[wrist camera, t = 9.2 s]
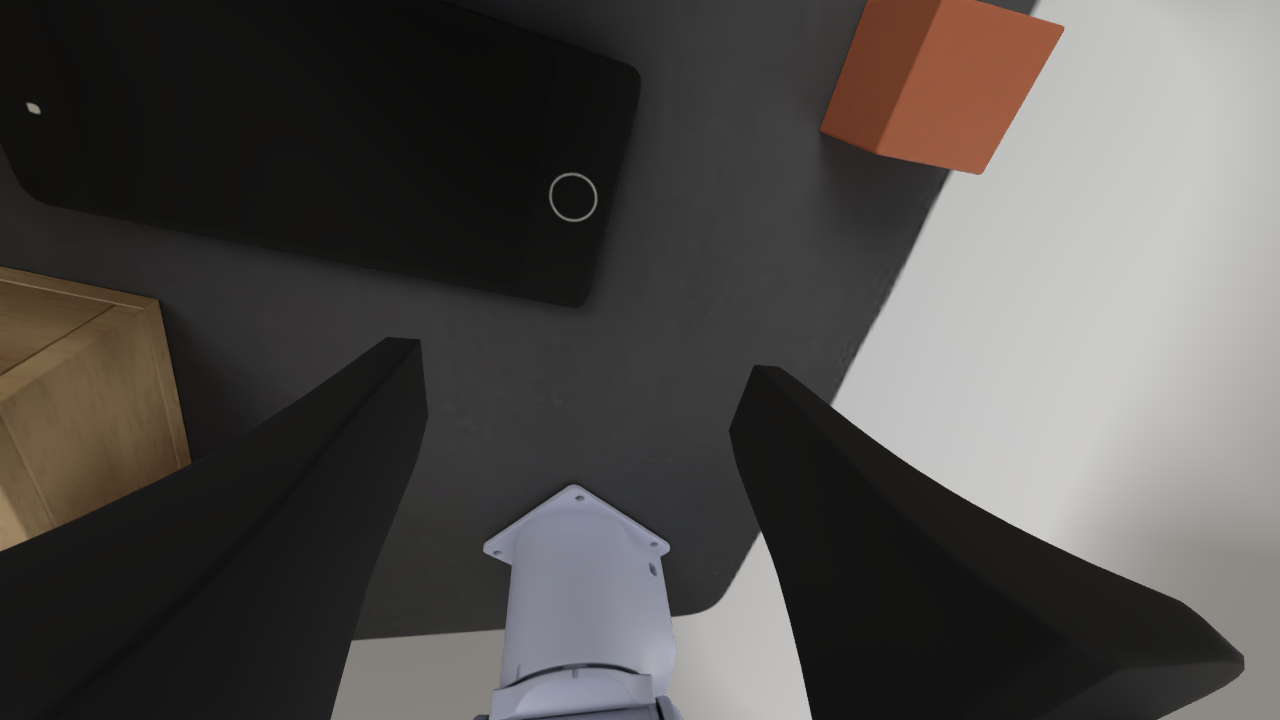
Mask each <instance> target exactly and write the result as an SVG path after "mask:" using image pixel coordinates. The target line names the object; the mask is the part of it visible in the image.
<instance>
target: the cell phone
mask: <svg viewBox="0 0 1280 720" xmlns="http://www.w3.org/2000/svg"><path fill="white" fill-rule="evenodd" d="M640 89H641V79H640V75H639V73H638V71H637V70H636V69H635V68H634V67H632V66H630V65H628V64H625V63H622V62H619V61H616V60H613V59H611V58H608V57H605V56H602V55H599V54H596V53H593V52H590V51H587V50H585V49H582V48H579V47H576V46H573V45H570V44H567V43H564V42H561V41H559V40H556V39H553V38H550V37H547V36H544V35H541V34H538V33H535V32H533V31H530V30H527V29H524V28H521V27H518V26H515V25H512V24H509V23H507V22H504V21H501V20H498V19H495V18H492V17H489V16H486V15H483V14H481V13H478V12H475V11H472V10H469V9H466V8H463V7H460V6H457V5H455V4H452V3H449V2H446V1H443V0H0V142H1V144H2V146H3V149H4V151H5V154H6V156H7V158H8V161H9V163H10V165H11V168H12V170H13V173H14V174H15V176H16V178H17V180H18V182H19V183H20V185H21V186H22V187H23V189H24V190H25V191H26V192H27V193H28V194H29V195H30V196H31V197H32V198H34V199H36V200H37V201H40V202H42V203H45V204H47V205H51V206H56V207H61V208H66V209H71V210H76V211H80V212H85V213H90V214H95V215H100V216H105V217H110V218H115V219H121V220H126V221H131V222H136V223H141V224H146V225H151V226H156V227H161V228H167V229H172V230H177V231H182V232H187V233H192V234H197V235H202V236H207V237H213V238H218V239H223V240H228V241H233V242H238V243H243V244H248V245H254V246H259V247H264V248H269V249H274V250H279V251H284V252H289V253H294V254H300V255H305V256H310V257H315V258H320V259H325V260H330V261H335V262H341V263H346V264H351V265H356V266H361V267H366V268H371V269H376V270H381V271H387V272H392V273H397V274H402V275H407V276H412V277H417V278H422V279H428V280H433V281H438V282H443V283H448V284H453V285H458V286H463V287H468V288H474V289H479V290H484V291H489V292H494V293H499V294H504V295H509V296H515V297H520V298H525V299H530V300H535V301H540V302H545V303H550V304H555V305H561V306H566V307H573V308H576V307H580V306H582V305H583V304H584V302H585V301H586V299H587V296H588V294H589V291H590V287H591V283H592V280H593V276H594V272H595V268H596V264H597V260H598V256H599V252H600V249H601V245H602V241H603V237H604V233H605V229H606V225H607V221H608V218H609V214H610V210H611V206H612V202H613V198H614V194H615V190H616V187H617V183H618V179H619V175H620V171H621V167H622V163H623V159H624V156H625V152H626V148H627V144H628V140H629V136H630V132H631V128H632V125H633V121H634V117H635V113H636V109H637V105H638V101H639V95H640Z"/></svg>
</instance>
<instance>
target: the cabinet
mask: <svg viewBox="0 0 1280 720" xmlns="http://www.w3.org/2000/svg"><path fill="white" fill-rule="evenodd" d="M191 463H192V462H191V457H190V452H189V447H188V442H187V437H186V432H185V427H184V422H183V417H182V413H181V408H180V403H179V398H178V393H177V388H176V383H175V378H174V373H173V368H172V363H171V358H170V353H169V349H168V344H167V339H166V334H165V329H164V324H163V319H162V314H161V309H160V304H159V300H158V299H154V298H149V297H145V296H140V295H135V294H130V293H126V292H121V291H116V290H111V289H107V288H102V287H97V286H92V285H87V284H83V283H78V282H73V281H68V280H64V279H59V278H54V277H49V276H45V275H40V274H35V273H30V272H26V271H21V270H16V269H11V268H6V267H2V266H0V551H2V550H5V549H7V548H10V547H12V546H14V545H17V544H19V543H21V542H24V541H26V540H29V539H31V538H33V537H36V536H38V535H40V534H43V533H45V532H47V531H50V530H52V529H54V528H57V527H59V526H61V525H64V524H66V523H68V522H70V521H73V520H75V519H77V518H79V517H81V516H83V515H86V514H88V513H90V512H92V511H94V510H96V509H98V508H100V507H102V506H105V505H107V504H109V503H111V502H113V501H115V500H117V499H119V498H122V497H124V496H126V495H128V494H130V493H132V492H134V491H136V490H139V489H141V488H143V487H145V486H147V485H149V484H151V483H153V482H156V481H158V480H160V479H162V478H164V477H166V476H168V475H170V474H172V473H174V472H176V471H178V470H179V469H181V468H183V467H185V466H187V465H189V464H191Z"/></svg>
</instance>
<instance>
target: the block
mask: <svg viewBox="0 0 1280 720" xmlns="http://www.w3.org/2000/svg"><path fill="white" fill-rule="evenodd" d="M1063 31H1064V27H1063V26H1062V25H1058V24H1055V23H1052V22H1048V21H1044V20H1041V19H1038V18H1035V17H1031V16H1028V15H1024V14H1021V13H1018V12H1014V11H1011V10H1007V9H1004V8H1001V7H997V6H994V5H990V4H987V3H984V2H980V1H977V0H868V1H867V3H866V5H865V8H864V11H863V13H862V16H861V19H860V22H859V24H858V27H857V30H856V32H855V35H854V38H853V41H852V43H851V46H850V49H849V52H848V54H847V57H846V60H845V62H844V65H843V68H842V71H841V73H840V76H839V79H838V82H837V84H836V87H835V90H834V92H833V95H832V98H831V101H830V103H829V106H828V109H827V112H826V114H825V117H824V120H823V122H822V125H821V128H820V131H821V132H822V133H825V134H827V135H830V136H832V137H834V138H837V139H839V140H842V141H844V142H847V143H849V144H852V145H854V146H857V147H859V148H862V149H864V150H866V151H869V152H871V153H874V154H877V155H882V156H887V157H892V158H897V159H902V160H907V161H912V162H917V163H922V164H927V165H932V166H937V167H942V168H947V169H952V170H957V171H963V172H967V173H972V174H977V175H979V174H982V173H983V171H984V170H985V168H986V166H987V164H988V163H989V161H990V159H991V157H992V156H993V154H994V152H995V150H996V149H997V147H998V145H999V143H1000V141H1001V140H1002V138H1003V136H1004V135H1005V133H1006V131H1007V129H1008V128H1009V126H1010V124H1011V122H1012V121H1013V119H1014V117H1015V115H1016V114H1017V112H1018V110H1019V108H1020V107H1021V105H1022V103H1023V101H1024V100H1025V98H1026V96H1027V94H1028V92H1029V91H1030V89H1031V87H1032V86H1033V84H1034V82H1035V80H1036V79H1037V77H1038V75H1039V73H1040V71H1041V70H1042V68H1043V66H1044V65H1045V63H1046V61H1047V59H1048V58H1049V56H1050V54H1051V52H1052V51H1053V49H1054V47H1055V45H1056V44H1057V42H1058V40H1059V38H1060V36H1061V35H1062V33H1063Z"/></svg>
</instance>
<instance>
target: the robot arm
mask: <svg viewBox="0 0 1280 720" xmlns="http://www.w3.org/2000/svg"><path fill="white" fill-rule="evenodd" d="M427 419H428V410H427V401H426V391H425V382H424V372H423V362H422V353H421V343H420V340H419V339H406V338H393V337H387V338H385V339H384V340H382V341H381V342H379V343H378V344H376V345H375V346H373V347H372V348H371V349H369V350H368V351H367V352H365V353H364V354H362V355H361V356H360V357H358V358H357V359H356V360H354V361H353V362H352V363H350V364H349V365H347V366H346V367H345V368H343V369H342V370H341V371H339V372H338V373H336V374H335V375H333V376H332V377H331V378H329V379H328V380H326V381H325V382H323V383H322V384H321V385H319V386H318V387H316V388H315V389H314V390H312V391H311V392H309V393H308V394H306V395H305V396H303V397H302V398H300V399H299V400H297V401H295V402H294V403H292V404H291V405H289V406H288V407H286V408H284V409H283V410H281V411H280V412H278V413H277V414H275V415H273V416H272V417H270V418H269V419H267V420H266V421H264V422H262V423H261V424H259V425H258V426H256V427H255V428H253V429H251V430H250V431H248V432H246V433H245V434H243V435H241V436H240V437H238V438H236V439H234V440H233V441H231V442H229V443H227V444H226V445H224V446H222V447H220V448H219V449H217V450H215V451H213V452H211V453H209V454H208V455H206V456H204V457H202V458H200V459H198V460H196V461H194V462H193V463H191V464H189V465H187V466H185V467H183V468H181V469H179V470H178V471H176V472H174V473H172V474H170V475H168V476H166V477H164V478H162V479H160V480H158V481H156V482H153V483H151V484H149V485H147V486H145V487H143V488H141V489H139V490H136V491H134V492H132V493H130V494H128V495H126V496H124V497H122V498H119V499H117V500H115V501H113V502H111V503H109V504H107V505H105V506H102V507H100V508H98V509H96V510H94V511H92V512H90V513H88V514H86V515H83V516H81V517H79V518H77V519H75V520H73V521H70V522H68V523H66V524H64V525H61V526H59V527H57V528H54V529H52V530H50V531H47V532H45V533H43V534H40V535H38V536H36V537H33V538H31V539H29V540H26V541H24V542H21V543H19V544H17V545H14V546H12V547H10V548H7V549H5V550H2V551H0V720H330V719H331V715H332V711H333V707H334V704H335V699H336V696H337V692H338V689H339V685H340V681H341V678H342V674H343V670H344V666H345V663H346V659H347V655H348V652H349V648H350V645H351V641H352V637H353V634H354V631H355V627H356V624H357V620H358V617H359V613H360V610H361V607H362V603H363V600H364V596H365V593H366V589H367V586H368V583H369V580H370V577H371V575H372V572H373V569H374V566H375V563H376V561H377V558H378V556H379V553H380V551H381V548H382V546H383V543H384V541H385V538H386V536H387V534H388V531H389V529H390V526H391V524H392V521H393V519H394V516H395V514H396V511H397V509H398V506H399V504H400V502H401V499H402V497H403V494H404V492H405V489H406V487H407V484H408V482H409V479H410V477H411V474H412V472H413V469H414V466H415V464H416V461H417V458H418V455H419V451H420V447H421V443H422V439H423V435H424V431H425V427H426V423H427ZM729 432H730V437H731V442H732V446H733V451H734V455H735V459H736V463H737V467H738V470H739V473H740V476H741V479H742V481H743V484H744V487H745V489H746V492H747V495H748V497H749V500H750V503H751V505H752V508H753V510H754V513H755V516H756V518H757V521H758V523H759V526H760V529H761V531H762V534H763V536H764V539H765V541H766V544H767V547H768V549H769V552H770V554H771V557H772V560H773V563H774V566H775V569H776V572H777V575H778V578H779V582H780V586H781V589H782V593H783V597H784V600H785V604H786V608H787V612H788V615H789V619H790V623H791V627H792V631H793V635H794V639H795V643H796V648H797V652H798V656H799V660H800V664H801V668H802V673H803V678H804V683H805V687H806V692H807V697H808V701H809V706H810V711H811V716H812V720H1157V719H1159V718H1161V717H1163V716H1165V715H1168V714H1170V713H1172V712H1173V711H1176V710H1178V709H1180V708H1182V707H1184V706H1186V705H1188V704H1190V703H1192V702H1195V701H1197V700H1199V699H1201V698H1203V697H1205V696H1207V695H1209V694H1211V693H1213V692H1215V691H1216V690H1218V689H1220V688H1222V687H1224V686H1226V685H1227V684H1228V683H1230V682H1231V681H1233V680H1234V679H1236V678H1237V677H1238V676H1239V675H1240V674H1241V673H1242V672H1243V671H1244V656H1243V655H1242V654H1241V653H1240V652H1239V651H1238V650H1237V649H1235V648H1234V647H1233V646H1232V645H1231V644H1230V643H1229V642H1228V641H1227V640H1226V639H1225V638H1224V637H1223V636H1221V634H1219V633H1218V632H1217V631H1216V630H1215V629H1214V628H1213V627H1212V626H1211V625H1210V624H1209V623H1208V622H1207V621H1205V620H1204V619H1203V618H1202V617H1201V616H1200V615H1198V614H1197V613H1196V612H1195V611H1193V610H1192V609H1191V608H1189V607H1188V606H1187V605H1185V604H1184V603H1182V602H1181V601H1179V600H1176V599H1174V598H1172V597H1169V596H1167V595H1165V594H1162V593H1160V592H1158V591H1155V590H1153V589H1151V588H1148V587H1146V586H1143V585H1141V584H1139V583H1136V582H1134V581H1131V580H1129V579H1127V578H1124V577H1122V576H1120V575H1117V574H1115V573H1113V572H1110V571H1108V570H1105V569H1103V568H1101V567H1098V566H1096V565H1094V564H1091V563H1089V562H1087V561H1085V560H1083V559H1081V558H1079V557H1076V556H1074V555H1072V554H1070V553H1068V552H1066V551H1064V550H1062V549H1060V548H1057V547H1055V546H1053V545H1051V544H1049V543H1047V542H1045V541H1043V540H1041V539H1039V538H1037V537H1035V536H1033V535H1031V534H1029V533H1027V532H1025V531H1023V530H1021V529H1019V528H1017V527H1015V526H1013V525H1011V524H1009V523H1007V522H1005V521H1004V520H1002V519H1000V518H998V517H996V516H994V515H993V514H991V513H989V512H987V511H985V510H983V509H982V508H980V507H978V506H976V505H974V504H972V503H971V502H969V501H967V500H966V499H963V498H962V497H960V496H959V495H957V494H955V493H954V492H952V491H950V490H949V489H947V488H945V487H944V486H942V485H941V484H939V483H937V482H936V481H934V480H933V479H931V478H929V477H928V476H926V475H925V474H923V473H921V472H920V471H918V470H917V469H915V468H914V467H912V466H911V465H909V464H908V463H906V462H905V461H903V460H902V459H900V458H899V457H897V456H896V455H894V454H893V453H892V452H890V451H889V450H888V449H886V448H885V447H883V446H882V445H881V444H879V443H878V442H876V441H875V440H874V439H872V438H871V437H870V436H868V435H867V434H866V433H864V432H863V431H862V430H860V429H859V428H858V427H856V426H855V425H854V424H852V423H851V422H850V421H849V420H847V419H846V418H845V417H844V416H842V415H841V414H840V413H838V412H837V411H836V410H834V409H833V408H832V407H831V406H830V405H828V404H827V403H826V402H825V401H823V400H822V399H821V398H820V397H818V396H817V395H816V394H815V393H813V392H812V391H811V390H810V389H808V388H807V387H806V386H804V385H803V384H802V383H801V382H799V381H798V380H797V379H795V378H794V377H793V376H791V375H790V374H788V373H787V372H786V371H784V370H783V369H781V368H780V367H775V366H762V365H754V367H753V369H752V372H751V374H750V377H749V380H748V382H747V385H746V387H745V390H744V392H743V395H742V398H741V400H740V403H739V405H738V408H737V410H736V413H735V416H734V418H733V421H732V423H731V426H730V429H729ZM669 550H670V546H669V543H668V542H666V541H665V540H663V539H662V538H660V537H659V536H657V535H655V534H654V533H652V532H651V531H649V530H648V529H646V528H645V527H643V526H641V525H640V524H638V523H637V522H635V521H634V520H632V519H631V518H629V517H627V516H626V515H624V514H623V513H621V512H620V511H618V510H617V509H615V508H613V507H612V506H610V505H609V504H607V503H606V502H604V501H603V500H601V499H599V498H598V497H596V496H595V495H593V494H592V493H590V492H588V491H587V490H585V489H584V488H582V487H581V486H579V485H570V486H568V487H566V488H565V489H563V490H562V491H560V492H559V493H557V494H556V495H554V496H553V497H551V498H550V499H548V500H547V501H546V502H544V503H543V504H541V505H540V506H538V507H537V508H535V509H534V510H532V511H531V512H529V513H528V514H526V515H525V516H524V517H522V518H521V519H519V520H518V521H516V522H515V523H513V524H512V525H510V526H509V527H507V528H506V529H504V530H503V531H502V532H500V533H499V534H497V535H496V536H494V537H493V538H491V539H490V540H488V541H487V542H486V543H485V544H484V548H483V551H484V552H485V553H486V554H488V555H491V556H493V557H495V558H497V559H499V560H501V561H503V562H506V563H508V564H510V565H512V571H511V581H510V590H509V600H508V609H507V619H506V629H505V638H504V648H503V657H502V667H501V676H500V686H499V689H495V690H493V691H492V697H491V706H490V714H489V715H477V716H476V717H475V718H474V719H473V720H683V717H682V715H681V713H680V711H679V710H678V709H677V708H676V707H675V706H674V705H673V704H672V702H671V701H670V699H669V698H668V697H667V696H664V694H665V691H666V690H667V688H668V686H669V683H670V680H671V677H672V673H673V669H674V663H675V640H674V634H673V628H672V622H671V617H670V611H669V605H668V599H667V594H666V588H665V582H664V576H663V571H662V565H661V559H660V557H661V556H662V555H664V554H666V553H667V552H669Z"/></svg>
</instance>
